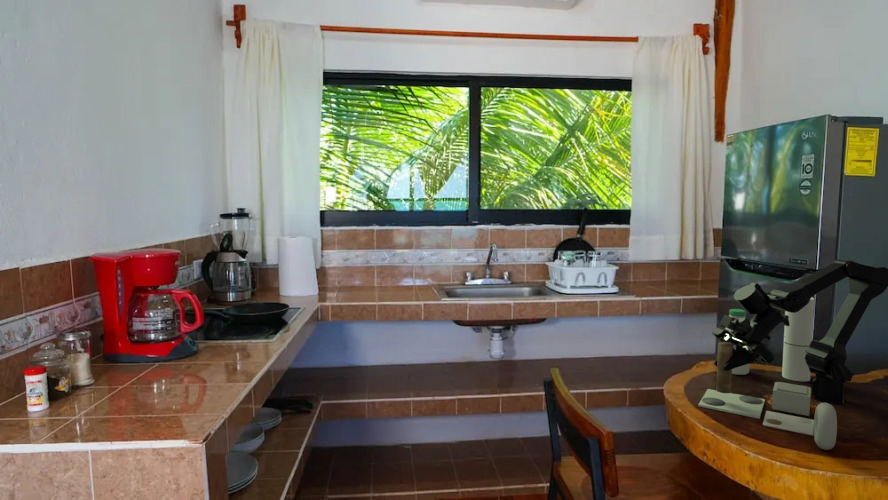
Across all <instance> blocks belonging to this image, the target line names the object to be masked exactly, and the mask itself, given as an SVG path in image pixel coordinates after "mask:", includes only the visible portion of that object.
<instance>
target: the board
mask: <svg viewBox="0 0 888 500" xmlns="http://www.w3.org/2000/svg"><path fill="white" fill-rule="evenodd" d="M765 402H766V399H765V398H760V397H756V396H751V395H743V394H738V393H732V392H731V393H720V392H718V391H716V389H711V388H707V389H706V391H705V393H704V394H703V396H702V398H701V400H699V403H698V405H697V406H698V407H699V408H704V409H710V410H714V411H720V412H723V413H724V412H725V413H728V414H729V413H730V414H735V415H740V416H744V417H749V418H753V419H759V420H760V419H761V415H762V412H763V409H764V405H765Z"/></svg>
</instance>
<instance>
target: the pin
mask: <svg viewBox="0 0 888 500" xmlns="http://www.w3.org/2000/svg"><path fill="white" fill-rule="evenodd" d="M717 355H718V360H717V366H716V385H715V390H716V391H718V392H720V393H732V377H733V374H732V369H731V370H728V371H725V370H724V369H723V367H724V365H725V364H726V363H727V361H728V360H729V359H730V358H731V357H732V356H733V344H732V343H728V342H720V341H719V342H718V343H717Z"/></svg>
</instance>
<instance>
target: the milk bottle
mask: <svg viewBox="0 0 888 500" xmlns="http://www.w3.org/2000/svg"><path fill="white" fill-rule="evenodd" d="M728 312H729V313H728V316H730V317H733V318H736V319H738V320H739V319H740V318H745V319H747V318H746V316H747V311H746V310H745V309H740V308H732V309H729V311H728ZM724 329H726V330H728V331H729V332H730V331H731V329H728V328H726V327H724ZM730 333H731V332H730ZM731 334H732V333H731ZM732 335H733V334H732ZM733 336H734V337H735V335H733ZM735 350H736V349H735ZM749 373H750V364H747V365H743V366H740V367H737V368H734V369H732V375H738V376H740V375H741V376H742V375H743V376H744V375H747V374H749Z"/></svg>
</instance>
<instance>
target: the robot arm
mask: <svg viewBox="0 0 888 500" xmlns="http://www.w3.org/2000/svg"><path fill="white" fill-rule="evenodd" d="M846 278H848V281H847V282H848V290H849V292H848V295H846V298H845V299H844V302H843V303H842V306H841V307H840V308H839V310H838V312H837V314H836V316H835V318H834V319H833V321H832V323H831V325H830V327H829V329H828V331H827V333H826V334H825V336H824V337H823V338H821V339H820V340H816V339H812V341H811V343H810V346H809V348H808V349H807V350H806V351H805V352H806V356H805V360H806V363H807V365H808V367H809V371H810V374H815V378H812V388H811V395H812V396H813V399H814V400H817V401H821V402H826V403H828V402H829V403H833V404H840V405H844V404H845V401H844V388H845V384H846V383H850V382H851V381H852V378H853V376H854V373H852V371H851V370H850V369H849V368H848V367H847V366H846V364H845V363H846V361H847V356H848V355H847V350H846V346H847V344H848V343H849V341H850V339H851V337H852V335H853V333H854V332H855V330H856V328H857V326H858V324H859V322H860V321H861V319H862V317H863V315H864V314H865V312H866V310H867V308H868V307H869V305H870V303H871V301H873V299H875V298H877V297H879V296H880V295H882V294H883V293H885V291H886V290H887V288H888V268H887V267H884V266H880V265H879V266H878V265H870V264H862V263H858V262H856V261H853V260H849V259H841V258H839V259H834V260H833V261H832V262H831V263H830V264H828V265H826V266H825V267H823V268H821V269H819V270H818V271H815V272H814V273H813V274H810V275H808V276H807V277H805V278H803V279H802V280H800V281H797V282H795V283H789V284H784V285H781V286H779V287H776V288H774V289H772V290H771V291H769V292H765V291H764V289H763V288H762V286H761V285H760V284H759V283H758V282H750V284H747V285H745V286H743V287H741V288H738V289H737V290H736V291H735V293H734V295H733V298H734V300H736V301H737V303H738V304H739V305H740V306H741V307H742V308H743V310H745V311H746V313H748V314H749V315H753V316H752V317H751V318H750V319H747V318H740V319H739V320H738V319H736V318H733V317H730V316H729V315H726V314H723V317H722V319H721V321H720V323H719V326H721V327H715V328H714V329H713V330H712V331H711V333H712V335H713V336H714V337H715V338H716V339H717V340H718V341H719V342H728V343H732V344H733V356H732V357H731V358H730V359H729V360H728V361H727V363H726V364H725V365H724V367H723V369H724V370H725V371H728V370H731V369H734V368H737V367H740V366H743V365H747V364H749V365H750V364H753V363H755V364H757V363H758V362H759V361H758V358H759V357H760V362H761V363H762V364H765V365H767V366H771V365H772V364H773V363H774V362H775V360H776V359H775V357H776V355H775V354H774V353H773V352H772V351H771V350H770V349H769V348H768V346H767V345H766V344H765V343H763V341H764V340H765V341H770V340H771V339H772V337H771V336H770V334H771V333H773V332H774V330H775V329H777V328H778V326H779V325H783V326H789V325H790V324H789V316H787V315H785V313H784V314H783V313H782V312H781V311H784V312H785V311H787V312H791V313H796V312H798V311H800V310H801V309H802V308H803V307H805V306H806V305H807V304H808V303H809V301H810V299H811V297H812V298H814V296H816V295H817V294H819V293H821V292H823V291H825V290H826V289H827V288H830V287H831V286H833V285H835V284H837V283H839V282H841V281H843V280H844V279H846ZM780 310H781V311H780ZM723 327H724V328H723ZM725 328H728V329H731V331H730V332H731V333H732V334H733V335H735V337H734V336H733V335H732V334H731V333H730V332H729V331H728V330H726V329H725ZM735 349H736V350H735ZM717 360H718V354H717V356H716V358H715V359H714V362H713V365H714V366H715V367H717Z"/></svg>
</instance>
